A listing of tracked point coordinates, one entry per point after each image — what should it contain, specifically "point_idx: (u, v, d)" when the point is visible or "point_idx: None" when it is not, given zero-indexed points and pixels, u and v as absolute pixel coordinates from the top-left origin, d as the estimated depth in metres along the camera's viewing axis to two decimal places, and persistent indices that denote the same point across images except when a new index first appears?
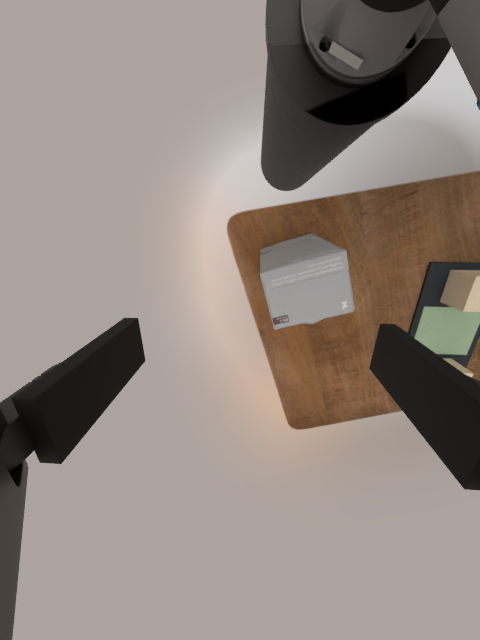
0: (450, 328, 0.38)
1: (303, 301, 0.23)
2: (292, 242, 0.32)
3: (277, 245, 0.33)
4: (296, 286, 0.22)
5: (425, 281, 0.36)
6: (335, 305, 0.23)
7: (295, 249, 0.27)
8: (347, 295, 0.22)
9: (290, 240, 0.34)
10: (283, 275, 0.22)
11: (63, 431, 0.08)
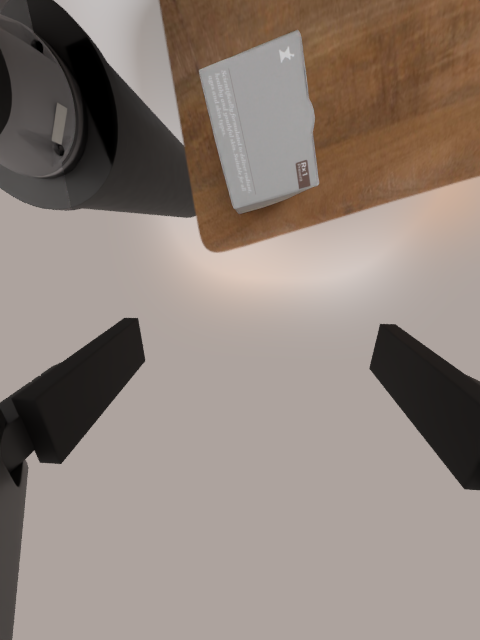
0: None
1: (274, 136, 0.15)
2: None
3: None
4: (252, 151, 0.15)
5: None
6: (284, 73, 0.14)
7: None
8: (269, 51, 0.14)
9: None
10: (236, 173, 0.16)
11: (63, 431, 0.08)
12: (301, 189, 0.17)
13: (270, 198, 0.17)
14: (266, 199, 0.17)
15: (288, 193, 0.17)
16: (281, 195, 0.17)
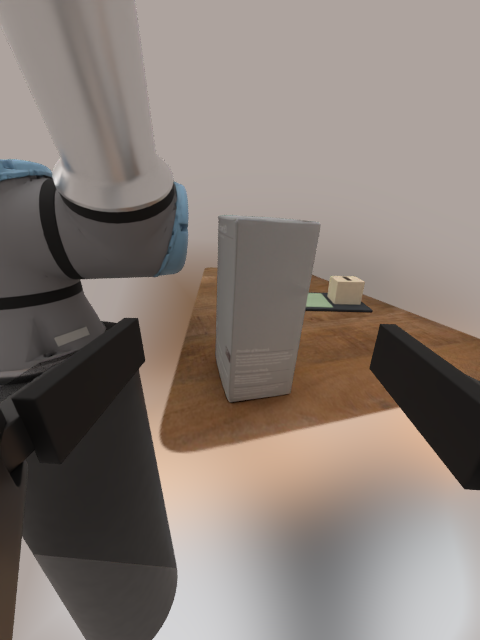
0: None
1: None
2: (219, 342, 0.24)
3: (222, 364, 0.23)
4: None
5: None
6: None
7: (222, 294, 0.22)
8: None
9: (219, 360, 0.25)
10: None
11: (63, 431, 0.08)
12: (305, 223, 0.16)
13: (274, 221, 0.16)
14: (270, 220, 0.16)
15: (292, 222, 0.16)
16: (285, 222, 0.16)
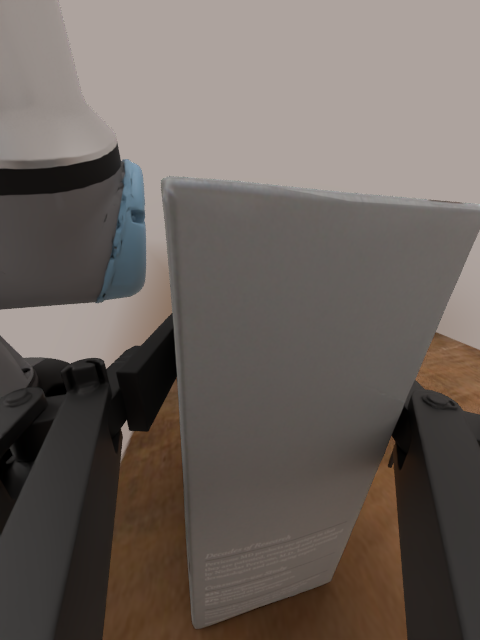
0: None
1: None
2: None
3: None
4: None
5: None
6: None
7: None
8: None
9: None
10: None
11: (149, 403, 0.09)
12: (439, 206, 0.04)
13: (333, 196, 0.04)
14: (317, 194, 0.04)
15: (399, 203, 0.04)
16: (374, 202, 0.04)
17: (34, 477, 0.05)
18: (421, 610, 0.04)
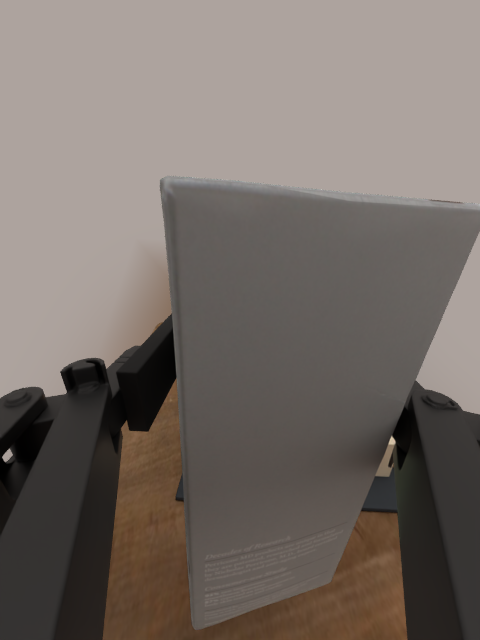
0: None
1: None
2: None
3: None
4: None
5: None
6: None
7: None
8: None
9: None
10: None
11: (149, 403, 0.09)
12: (439, 206, 0.04)
13: (333, 195, 0.04)
14: (317, 194, 0.04)
15: (399, 203, 0.04)
16: (374, 202, 0.04)
17: (34, 477, 0.05)
18: (420, 610, 0.04)
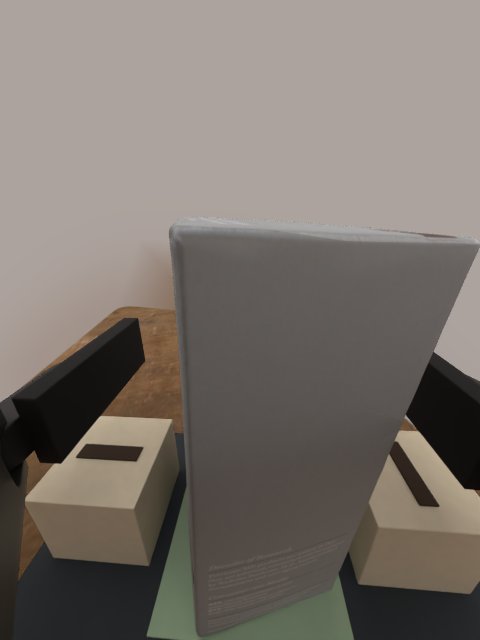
0: None
1: None
2: None
3: None
4: (252, 221, 0.07)
5: None
6: None
7: None
8: None
9: None
10: (206, 222, 0.05)
11: (63, 431, 0.08)
12: (433, 241, 0.05)
13: (332, 236, 0.04)
14: (316, 235, 0.04)
15: (394, 240, 0.04)
16: (371, 240, 0.04)
17: None
18: None
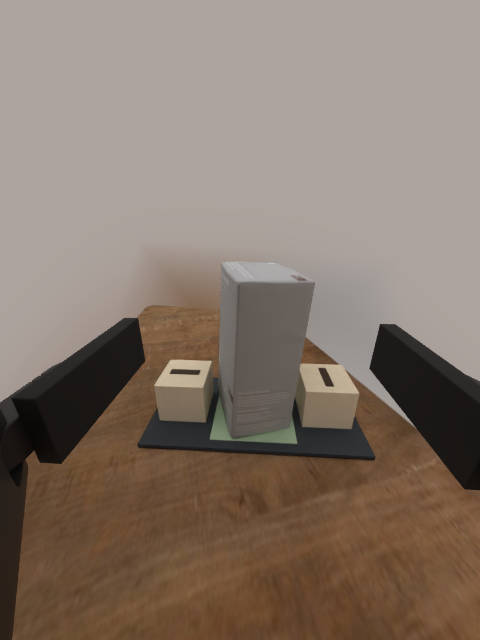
0: None
1: (270, 270, 0.21)
2: (222, 378, 0.25)
3: (225, 400, 0.24)
4: (254, 271, 0.20)
5: (166, 446, 0.22)
6: (271, 264, 0.23)
7: (224, 336, 0.23)
8: None
9: (221, 394, 0.26)
10: (240, 274, 0.19)
11: (63, 431, 0.08)
12: (300, 282, 0.18)
13: (272, 282, 0.17)
14: (269, 281, 0.17)
15: (289, 282, 0.18)
16: (283, 282, 0.18)
17: None
18: None
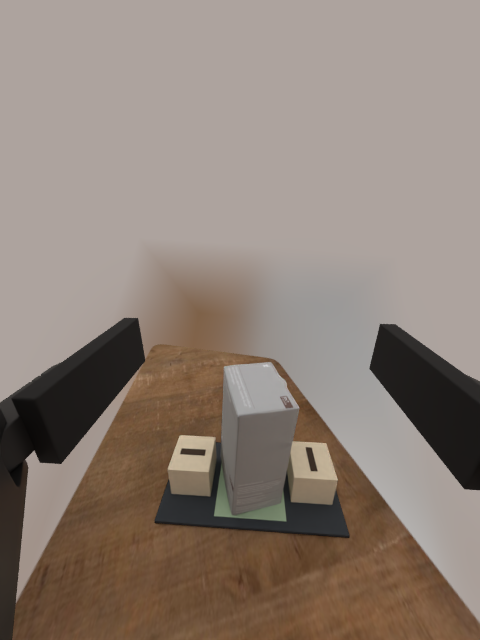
0: None
1: (264, 385, 0.25)
2: (224, 458, 0.30)
3: (227, 480, 0.29)
4: (251, 390, 0.25)
5: (178, 522, 0.27)
6: (266, 369, 0.28)
7: (226, 430, 0.28)
8: (258, 364, 0.29)
9: (223, 469, 0.31)
10: (240, 398, 0.23)
11: (63, 431, 0.08)
12: (287, 409, 0.23)
13: (265, 412, 0.22)
14: (262, 412, 0.22)
15: (278, 410, 0.22)
16: (273, 411, 0.22)
17: None
18: None
